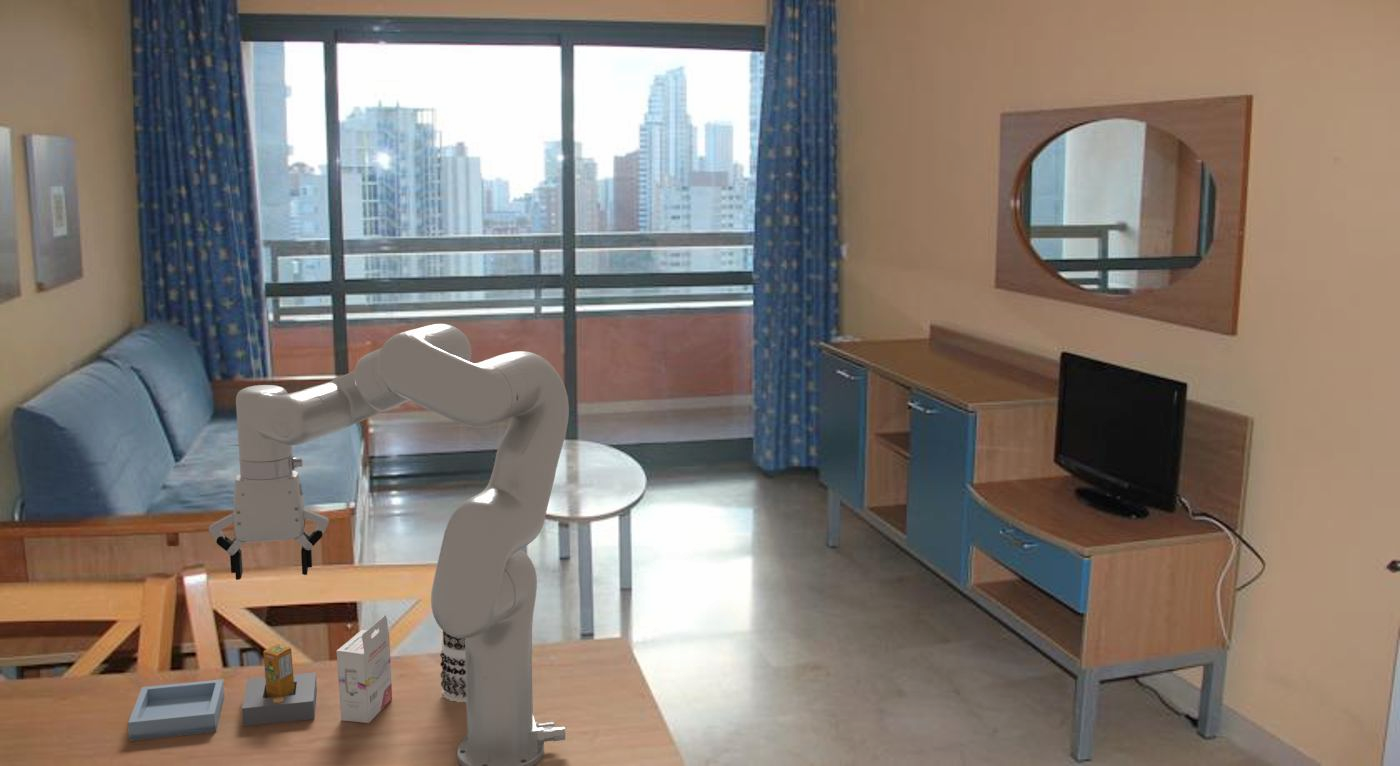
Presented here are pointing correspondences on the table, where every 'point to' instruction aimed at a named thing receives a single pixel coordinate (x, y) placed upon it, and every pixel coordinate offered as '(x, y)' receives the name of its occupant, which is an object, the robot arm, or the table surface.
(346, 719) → the ink cartridge box
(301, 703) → the holder and tray
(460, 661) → the decorative candle
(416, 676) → the table surface
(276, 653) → the supplement box
